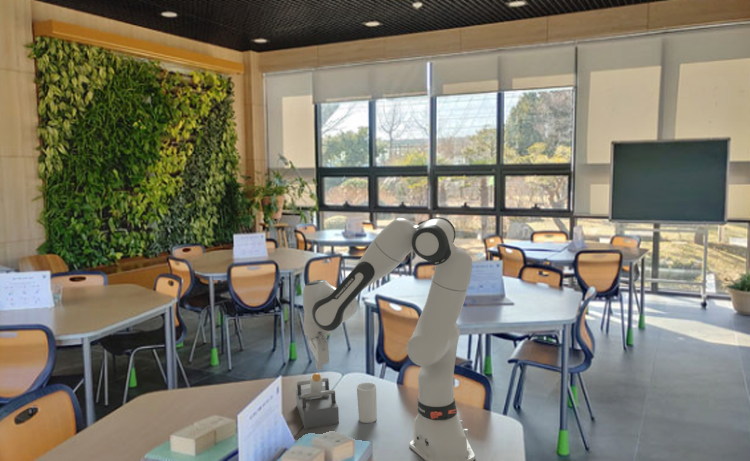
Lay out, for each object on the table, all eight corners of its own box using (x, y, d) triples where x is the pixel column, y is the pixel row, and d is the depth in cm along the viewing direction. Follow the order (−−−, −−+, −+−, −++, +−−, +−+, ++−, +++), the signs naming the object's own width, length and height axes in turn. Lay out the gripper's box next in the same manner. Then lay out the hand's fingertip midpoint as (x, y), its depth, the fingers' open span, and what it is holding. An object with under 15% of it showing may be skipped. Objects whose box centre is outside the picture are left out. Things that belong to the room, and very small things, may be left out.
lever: (322, 399, 203) (323, 376, 197) (310, 400, 202) (311, 378, 196) (321, 392, 205) (322, 370, 200) (309, 394, 204) (309, 372, 199)
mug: (375, 424, 194) (373, 390, 193) (356, 423, 196) (354, 390, 194) (380, 411, 204) (379, 379, 203) (362, 410, 206) (361, 378, 204)
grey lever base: (339, 423, 196) (337, 393, 195) (304, 429, 193) (302, 399, 192) (328, 400, 215) (326, 373, 214) (296, 405, 212) (295, 378, 211)
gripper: (332, 336, 179) (334, 378, 181) (321, 319, 199) (322, 357, 200) (313, 338, 178) (315, 380, 179) (303, 321, 197) (305, 359, 199)
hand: (319, 368), depth 190 cm, fingers closed
